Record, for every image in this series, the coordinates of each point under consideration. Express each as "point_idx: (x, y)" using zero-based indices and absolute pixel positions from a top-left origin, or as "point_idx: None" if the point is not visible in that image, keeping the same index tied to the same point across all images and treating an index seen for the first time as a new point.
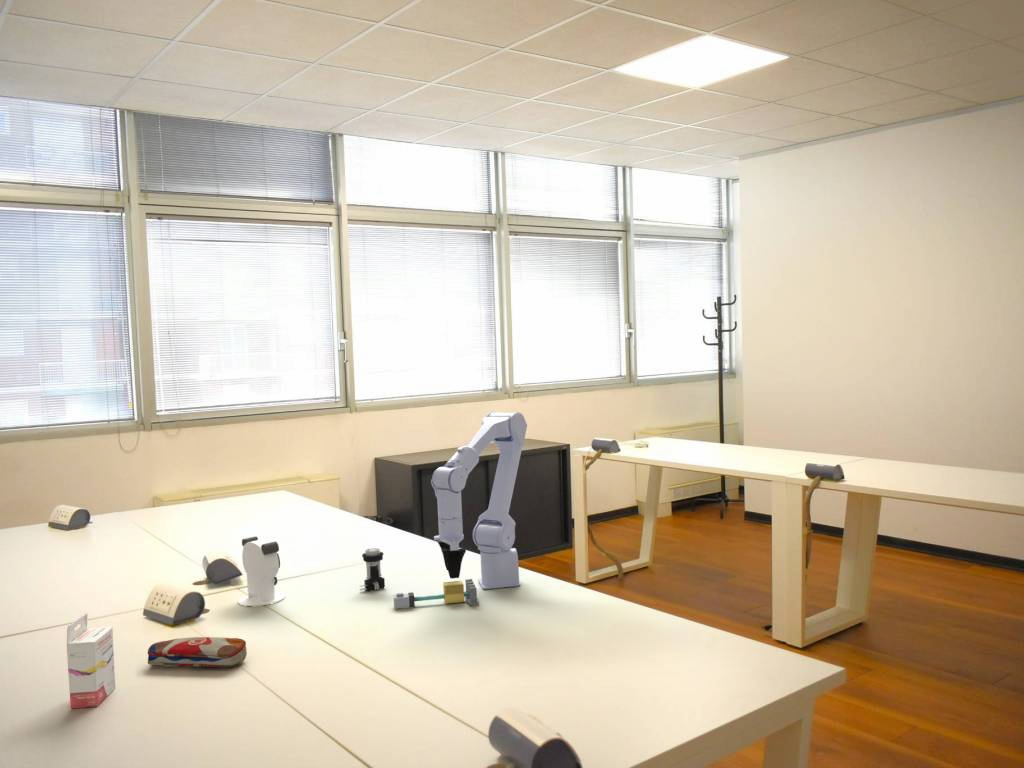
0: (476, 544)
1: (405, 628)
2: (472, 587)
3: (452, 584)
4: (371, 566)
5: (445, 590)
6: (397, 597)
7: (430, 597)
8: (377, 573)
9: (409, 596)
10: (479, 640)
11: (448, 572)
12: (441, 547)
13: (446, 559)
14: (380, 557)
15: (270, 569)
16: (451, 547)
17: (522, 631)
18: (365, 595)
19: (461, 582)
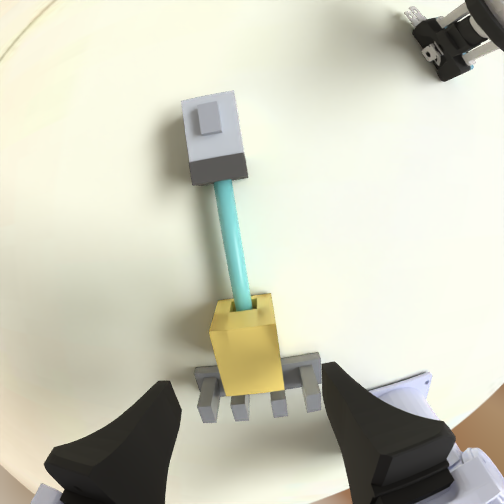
0: (464, 456)
1: (29, 190)
2: (205, 414)
3: (233, 361)
4: (468, 17)
5: (211, 325)
6: (191, 112)
7: (225, 252)
8: (461, 45)
9: (189, 164)
10: (4, 351)
11: (157, 393)
12: (366, 442)
13: (86, 438)
14: (497, 34)
15: None
16: (36, 498)
17: (54, 420)
18: (372, 20)
19: (257, 390)
